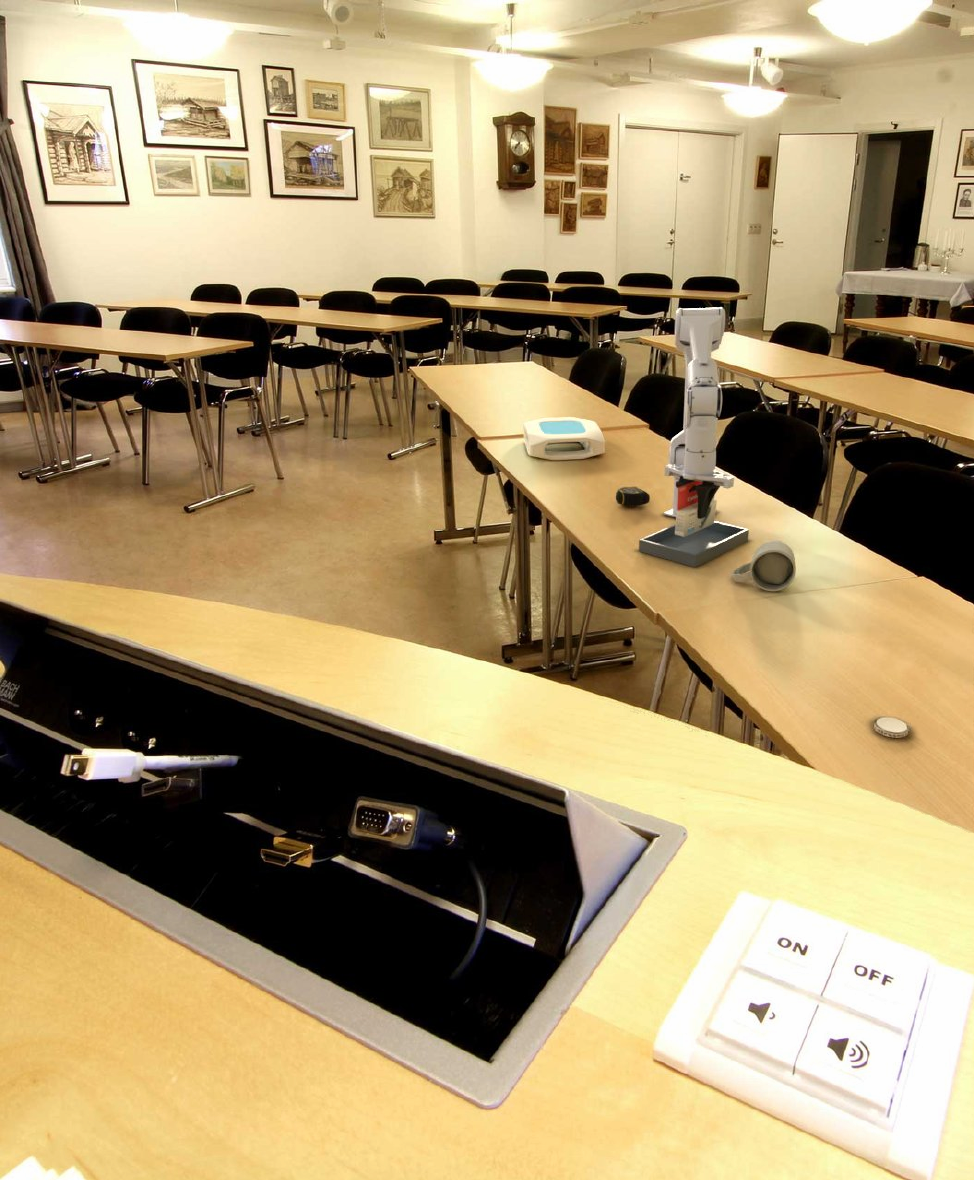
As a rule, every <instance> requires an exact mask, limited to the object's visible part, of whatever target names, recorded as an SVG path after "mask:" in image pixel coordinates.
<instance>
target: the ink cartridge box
mask: <svg viewBox="0 0 974 1180" xmlns="http://www.w3.org/2000/svg"><path fill="white" fill-rule="evenodd" d="M700 484H702V482H699V481H694V482H691V483H689V484H686V485H684V486H681V487H679V488H678V496H677V514H676V517H675V524H676V525H675V535H678V536H682V537H685V536H688V535H690V534H692V533H694V532H696V531H699V530H701V529H703V528H705V527H707V526H710V525H712V524H714V521H715V519H716V512H715V511H716V510H717V502H718V500H717V499H715V498H714V499H712V501H711V503H710V506H709V509H708V512H707V515H706V517H704V518H702V519H699V518H698V516H697V510H698V498H697V491H696V490H694V491H692V492H689V489H690V488H691V487H692V486H693V485H696V486H697V485H700Z"/></svg>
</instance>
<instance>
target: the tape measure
mask: <svg viewBox="0 0 974 1180" xmlns="http://www.w3.org/2000/svg"><path fill="white" fill-rule="evenodd" d="M650 500H651V496H650V494H649V493H648V492H646V491H645V490H643V489H642V488H639V487H637V486H622V487H619V488H618V489H617V490H616V492H615V501H616V503H617V504H618V505H620V506H624V507H625V508H630V507H631V508H635V507H636V508H637V507H640V506H643V505H646V504H648V503H650Z"/></svg>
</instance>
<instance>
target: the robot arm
mask: <svg viewBox="0 0 974 1180" xmlns="http://www.w3.org/2000/svg"><path fill="white" fill-rule="evenodd" d="M725 327H726V311H725V309H724V308H723V307H722V306H720V307H705V308H703V307H702V308H701V307H699V308H681V307H679V308H677V310H676V311H675V320H674V346H675V350H676V351H678V352H679V353H680V352H681V353H683V357H684V360H685V379H684V400H683V401H684V402H683V404H684V406H683V424H682V425H683V427H682V428H683V430H681V431H680V432H679V433H678V434H676V435H675V436H673V437H672V438H671V440H670V441H669V450H668V464H667V465H665V466H664V476H665V477H671V476H672V477H673V489H672V506H671V507H672V508H671V509H670V510H666V511H665V512H663V514H664V516H668V517H672V518H676V514H677V496H678V488H679V487H681V486H684V485H686V484H689V483H691V482H694V481H699V482H702V484H700V485H697V486H696V485H693V486H692V487H691V488H690V489H689V492H692V491H694V490H696V491H697V498H698V510H697V516H698V518H699V519H702V518H704V517H706V515H707V512H708V509H709V506H710V503H711V501H712V499H714V500H715V495H716V494H717V492H718V491H719V489H720V488H721V487H723V488H724V489H728V490H729V489H731V488H733V487H734V483H735V477H734V476H733V475H728V474H725V473H723V472H720V471H719V470H718V471H717V470H716V464H717V450H716V449H717V448H716V446H717V433H718V420H719V418H720V416H721V412H722V408H723V407H722V406H723V391H722V386H721V383H720V382H719V374H718V363H717V362H716V360H714V359H713V358H712V353H713V352H715V351H717V350H719V348H720V345H721V344H722V340H723V337H724V334H725ZM682 445H683V446H682ZM717 511H718V510H717V509H716V511H715V513H717Z"/></svg>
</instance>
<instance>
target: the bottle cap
mask: <svg viewBox="0 0 974 1180" xmlns="http://www.w3.org/2000/svg"><path fill="white" fill-rule="evenodd" d="M873 728H874V730H875V731H876V732H878V733H879V734H880V735H882V736H885V737H888V738H895V739H897V738H899V739H900V738H904V737H907V736H908V735H909V731H910V727H909V724H908V723H907V722H905V721H904V720H901V719H899V718H897V717H893V716H881V717H877V718H876V719H875V720H874V724H873Z"/></svg>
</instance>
